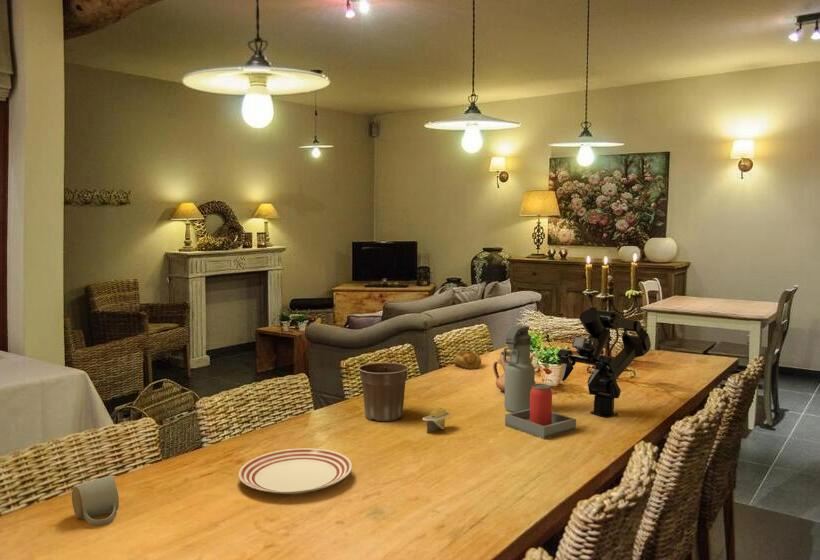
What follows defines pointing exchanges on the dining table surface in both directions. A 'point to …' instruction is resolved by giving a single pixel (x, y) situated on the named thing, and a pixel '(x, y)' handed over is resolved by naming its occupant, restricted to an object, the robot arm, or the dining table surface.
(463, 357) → the bread roll
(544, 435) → the tray
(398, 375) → the plant pot
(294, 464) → the dinner plate
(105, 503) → the ceramic mug
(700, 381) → the dining table surface
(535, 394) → the beer can
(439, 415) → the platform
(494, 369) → the ceramic jug
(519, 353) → the water bottle
